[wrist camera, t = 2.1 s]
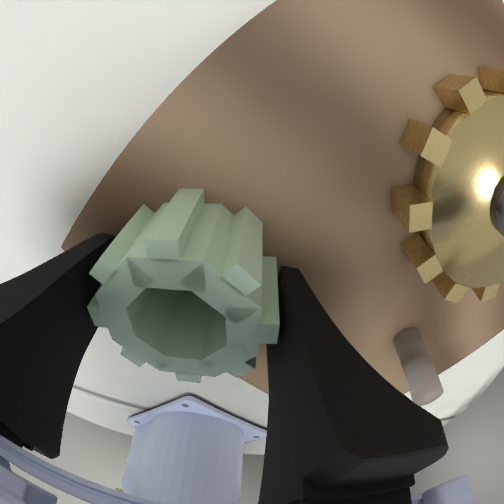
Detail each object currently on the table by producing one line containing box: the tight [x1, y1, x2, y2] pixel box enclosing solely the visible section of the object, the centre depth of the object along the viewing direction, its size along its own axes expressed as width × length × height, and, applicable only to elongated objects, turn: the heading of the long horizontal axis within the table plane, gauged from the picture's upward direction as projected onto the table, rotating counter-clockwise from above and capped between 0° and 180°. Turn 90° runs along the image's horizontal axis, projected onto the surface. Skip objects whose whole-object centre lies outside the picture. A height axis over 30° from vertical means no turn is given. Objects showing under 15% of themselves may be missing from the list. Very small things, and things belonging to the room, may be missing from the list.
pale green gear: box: [87, 188, 280, 383], centre depth 9 cm, size 6×6×3 cm
